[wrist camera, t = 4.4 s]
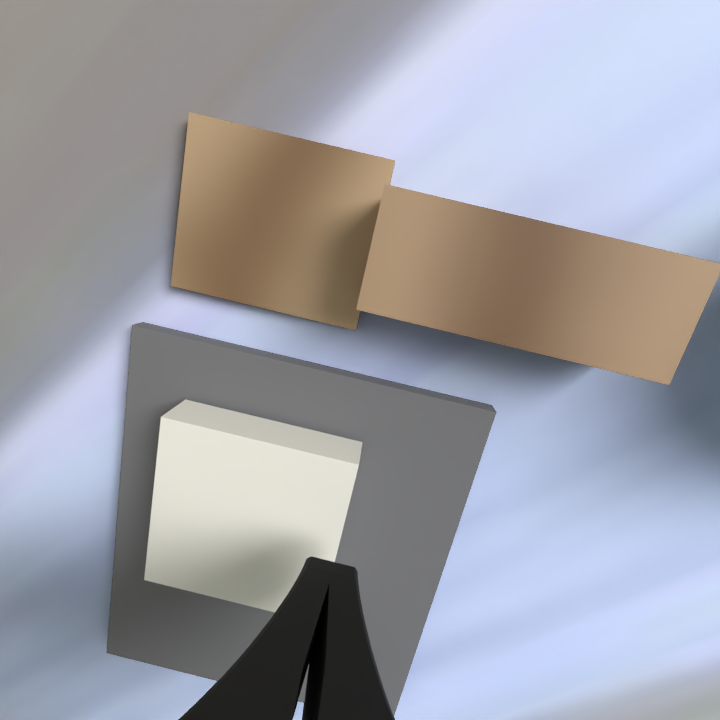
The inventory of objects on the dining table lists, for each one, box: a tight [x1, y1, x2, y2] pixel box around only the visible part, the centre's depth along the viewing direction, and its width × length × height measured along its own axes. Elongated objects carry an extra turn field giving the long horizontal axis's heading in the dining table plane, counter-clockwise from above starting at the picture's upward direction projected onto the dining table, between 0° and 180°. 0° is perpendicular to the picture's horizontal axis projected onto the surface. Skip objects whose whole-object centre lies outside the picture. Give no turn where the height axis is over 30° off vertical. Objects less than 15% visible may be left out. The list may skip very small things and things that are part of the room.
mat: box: [107, 322, 496, 716], centre depth 15 cm, size 14×12×1 cm
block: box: [144, 399, 363, 612], centre depth 14 cm, size 6×2×6 cm
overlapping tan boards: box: [171, 112, 720, 385], centre depth 11 cm, size 14×5×3 cm, turn 77°
